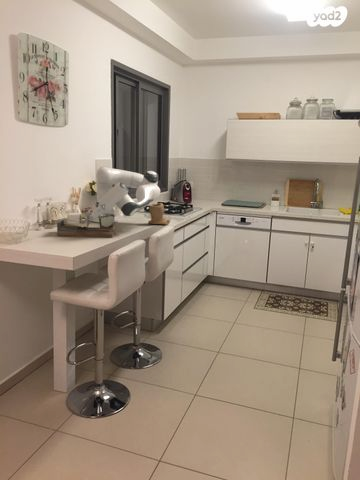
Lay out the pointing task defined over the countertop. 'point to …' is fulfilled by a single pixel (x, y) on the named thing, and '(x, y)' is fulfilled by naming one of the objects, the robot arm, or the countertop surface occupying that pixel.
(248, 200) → the countertop surface
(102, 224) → the food container
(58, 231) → the loading dock
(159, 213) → the stone cup
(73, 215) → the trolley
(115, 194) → the robot arm
